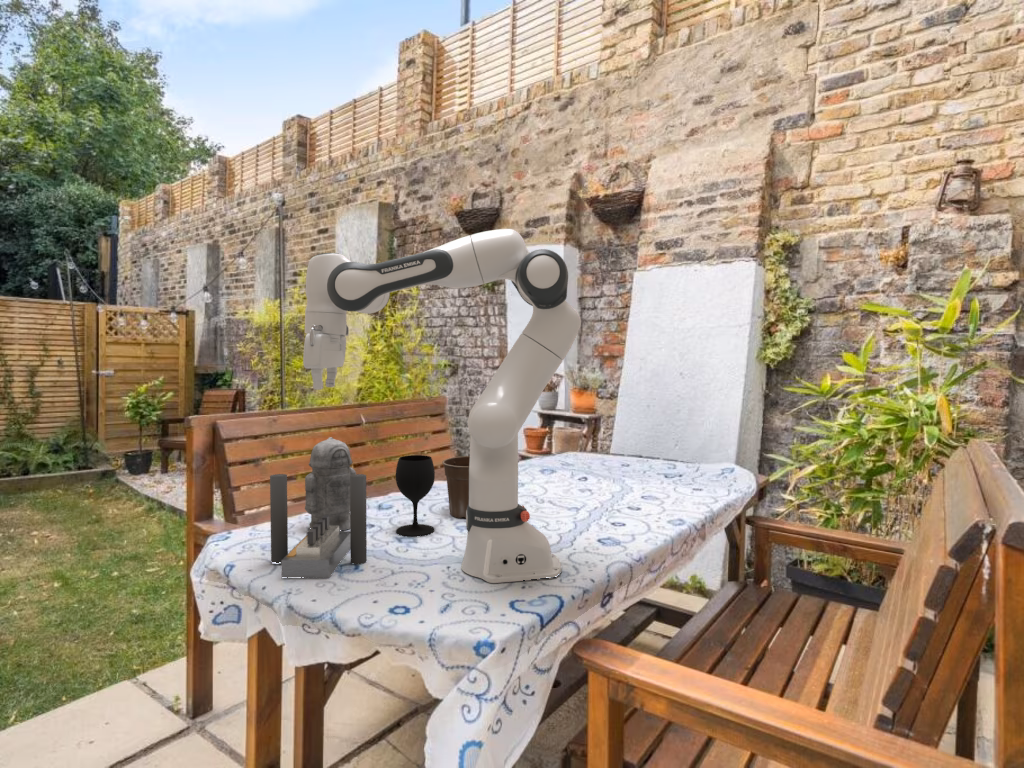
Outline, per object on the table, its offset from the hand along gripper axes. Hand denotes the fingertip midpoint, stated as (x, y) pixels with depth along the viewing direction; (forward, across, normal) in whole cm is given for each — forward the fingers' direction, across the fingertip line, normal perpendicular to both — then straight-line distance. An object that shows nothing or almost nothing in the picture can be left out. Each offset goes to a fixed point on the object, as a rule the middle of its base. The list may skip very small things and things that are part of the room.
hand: (324, 388), depth 131 cm
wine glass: (+40, +24, -18) cm, 50 cm away
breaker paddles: (+34, +1, +1) cm, 34 cm away
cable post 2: (+40, +1, -8) cm, 41 cm away
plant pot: (+40, +41, -32) cm, 65 cm away
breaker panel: (+40, +1, +1) cm, 40 cm away
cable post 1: (+40, +1, +10) cm, 42 cm away
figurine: (+40, +27, +4) cm, 49 cm away
